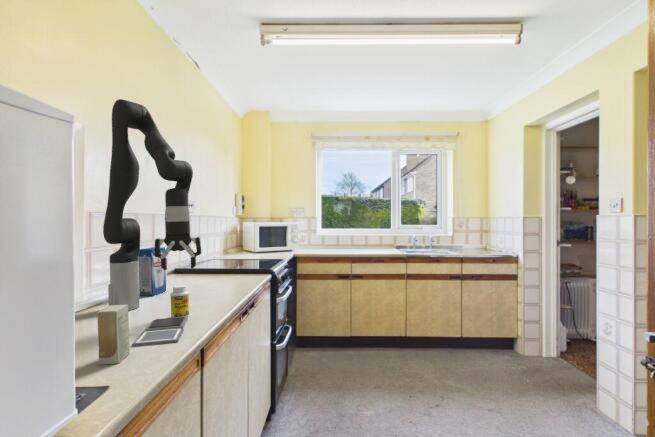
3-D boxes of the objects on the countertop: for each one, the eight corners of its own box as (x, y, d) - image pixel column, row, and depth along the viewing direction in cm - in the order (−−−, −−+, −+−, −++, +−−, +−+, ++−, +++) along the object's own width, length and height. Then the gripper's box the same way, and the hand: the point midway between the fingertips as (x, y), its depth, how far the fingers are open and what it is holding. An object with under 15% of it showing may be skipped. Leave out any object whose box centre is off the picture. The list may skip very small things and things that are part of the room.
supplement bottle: (173, 320, 119) (172, 288, 119) (169, 316, 124) (168, 286, 124) (191, 317, 122) (190, 286, 122) (187, 313, 127) (186, 284, 127)
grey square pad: (132, 346, 95) (132, 343, 95) (142, 334, 105) (142, 331, 105) (177, 342, 98) (177, 339, 98) (183, 330, 108) (183, 328, 107)
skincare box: (111, 354, 90) (110, 304, 90) (130, 353, 90) (129, 303, 90) (97, 365, 83) (96, 311, 83) (117, 364, 84) (116, 310, 84)
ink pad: (145, 332, 107) (145, 328, 107) (154, 322, 116) (153, 318, 116) (182, 329, 109) (182, 324, 109) (187, 320, 119) (187, 316, 119)
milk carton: (153, 291, 167) (152, 247, 167) (166, 291, 166) (165, 247, 166) (139, 296, 157) (137, 249, 157) (152, 296, 156) (151, 249, 156)
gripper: (201, 219, 128) (202, 266, 128) (156, 220, 125) (158, 268, 125) (198, 219, 120) (200, 269, 121) (151, 221, 117) (153, 272, 117)
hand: (178, 269), depth 123 cm, fingers open, 8 cm apart
